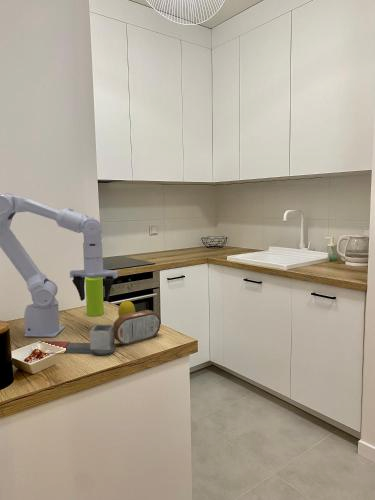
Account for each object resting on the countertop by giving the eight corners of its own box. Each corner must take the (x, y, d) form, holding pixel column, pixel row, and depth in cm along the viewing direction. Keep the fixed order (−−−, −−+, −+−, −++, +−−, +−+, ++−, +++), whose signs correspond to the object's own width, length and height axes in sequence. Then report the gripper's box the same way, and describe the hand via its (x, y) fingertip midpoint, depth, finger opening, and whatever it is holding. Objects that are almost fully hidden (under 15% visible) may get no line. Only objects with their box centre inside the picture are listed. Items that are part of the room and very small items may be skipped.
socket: (90, 349, 97) (89, 331, 96) (96, 341, 102) (95, 324, 101) (109, 349, 97) (109, 331, 96) (114, 341, 102) (114, 324, 101)
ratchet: (33, 355, 98) (32, 340, 97) (43, 346, 103) (42, 331, 103) (111, 356, 97) (111, 341, 96) (117, 347, 103) (116, 332, 102)
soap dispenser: (93, 318, 126) (91, 261, 123) (83, 313, 131) (81, 258, 128) (108, 314, 130) (106, 259, 127) (98, 310, 135) (96, 256, 132)
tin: (156, 333, 113) (156, 306, 112) (162, 336, 111) (162, 309, 109) (111, 345, 104) (110, 316, 103) (116, 348, 102) (115, 319, 100)
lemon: (132, 326, 118) (131, 302, 117) (116, 325, 119) (115, 301, 118) (137, 321, 124) (137, 298, 122) (122, 320, 125) (121, 297, 123)
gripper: (65, 259, 110) (67, 303, 112) (113, 259, 109) (114, 303, 111) (73, 255, 117) (75, 296, 119) (118, 255, 116) (119, 297, 118)
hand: (94, 299), depth 115 cm, fingers open, 7 cm apart
